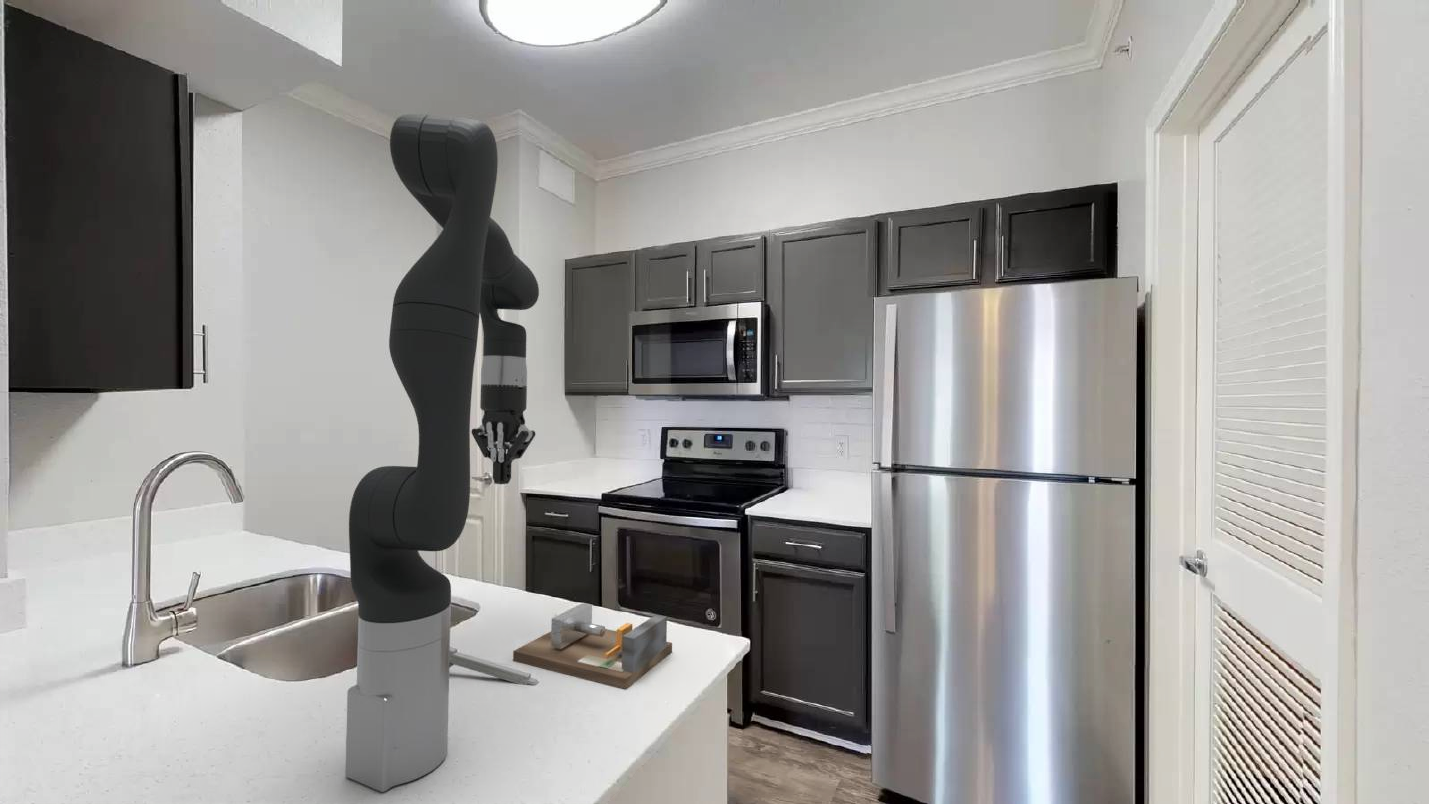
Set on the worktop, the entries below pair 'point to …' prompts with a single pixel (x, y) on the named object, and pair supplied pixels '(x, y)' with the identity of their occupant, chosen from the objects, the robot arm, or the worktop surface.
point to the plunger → (573, 626)
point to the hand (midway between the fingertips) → (501, 483)
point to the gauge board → (603, 654)
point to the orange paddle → (619, 639)
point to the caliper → (490, 668)
